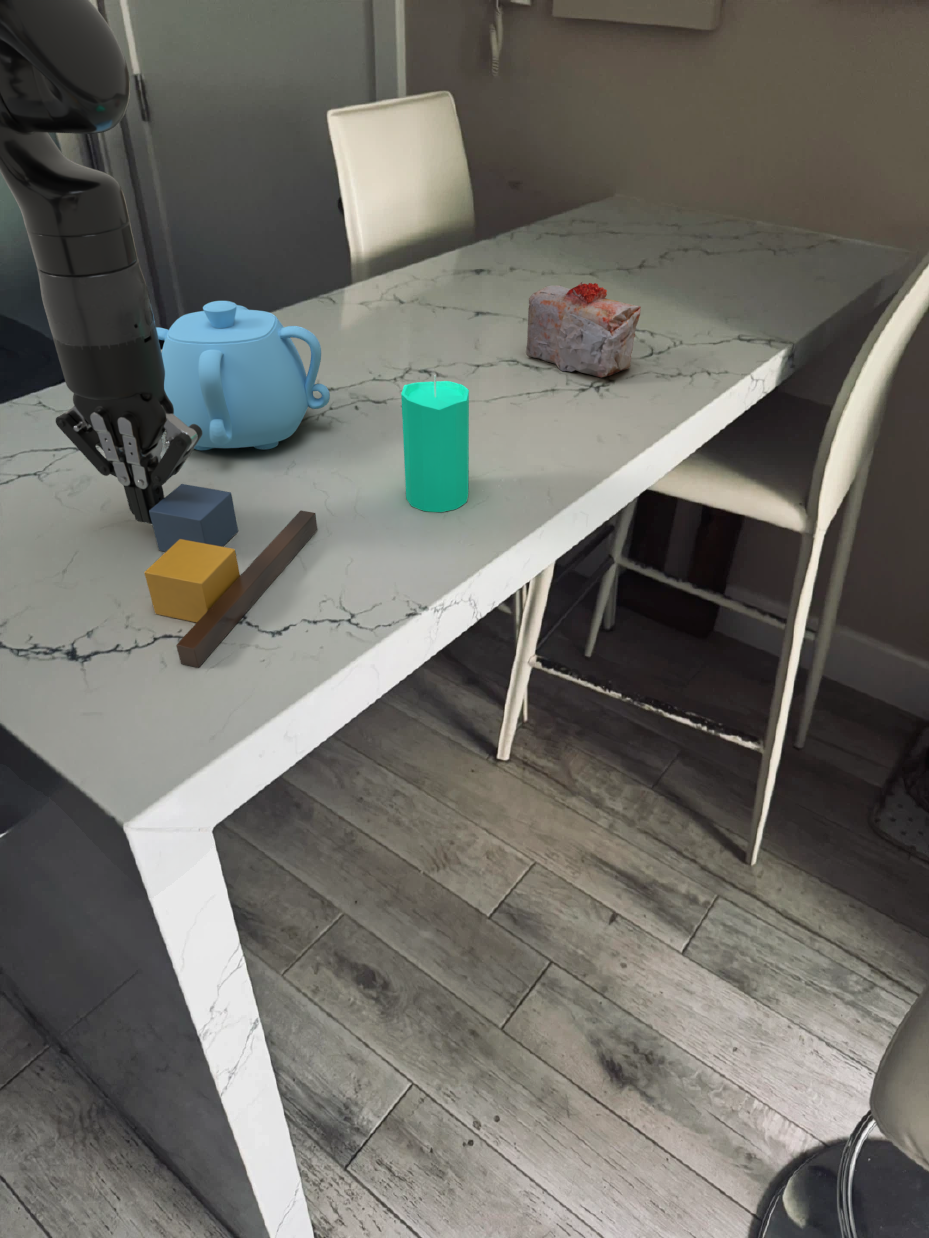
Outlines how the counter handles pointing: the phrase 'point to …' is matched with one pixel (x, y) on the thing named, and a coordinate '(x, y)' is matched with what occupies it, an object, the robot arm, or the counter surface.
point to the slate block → (194, 517)
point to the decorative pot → (239, 375)
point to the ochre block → (190, 579)
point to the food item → (581, 329)
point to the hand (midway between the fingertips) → (151, 518)
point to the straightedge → (245, 590)
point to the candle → (436, 444)
